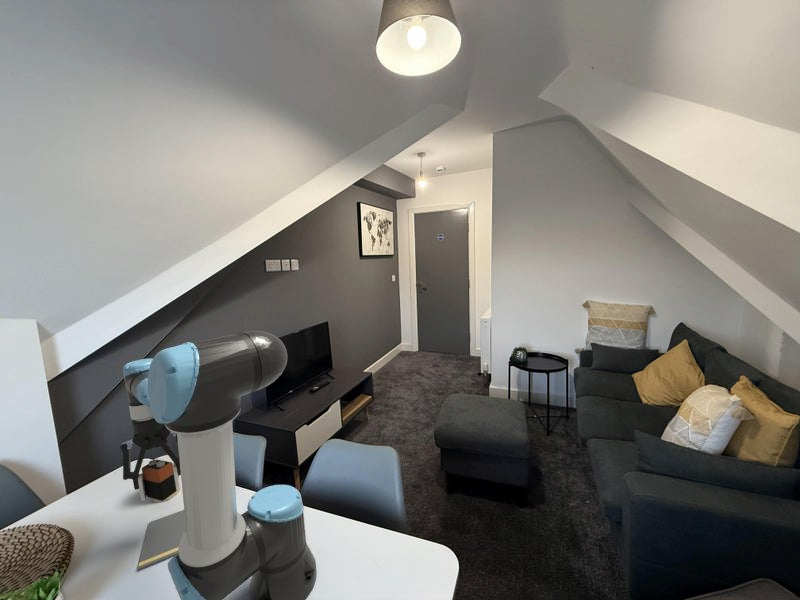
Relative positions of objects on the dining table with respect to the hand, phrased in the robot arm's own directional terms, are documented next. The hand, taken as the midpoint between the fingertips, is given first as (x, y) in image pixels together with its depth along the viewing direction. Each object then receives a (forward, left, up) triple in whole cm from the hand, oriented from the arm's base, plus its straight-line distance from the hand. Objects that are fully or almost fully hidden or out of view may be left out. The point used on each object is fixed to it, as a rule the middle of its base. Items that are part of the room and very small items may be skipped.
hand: (161, 491), depth 92 cm
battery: (0, 0, -1) cm, 1 cm away
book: (0, -1, -14) cm, 14 cm away
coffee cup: (+22, +3, -15) cm, 27 cm away
